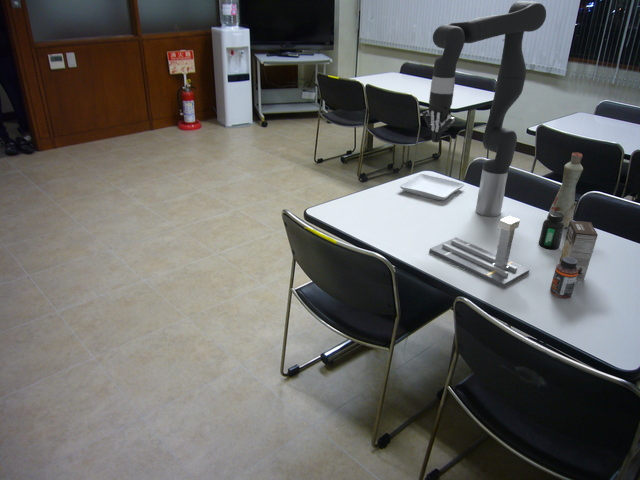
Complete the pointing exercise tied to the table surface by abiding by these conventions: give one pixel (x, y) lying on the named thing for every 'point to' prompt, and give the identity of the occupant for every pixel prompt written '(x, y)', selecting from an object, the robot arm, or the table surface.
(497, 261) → the post
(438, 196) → the salad plate
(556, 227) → the supplement bottle
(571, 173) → the bottle
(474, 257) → the slider rail base
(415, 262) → the table surface
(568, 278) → the supplement bottle
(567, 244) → the coffee box
